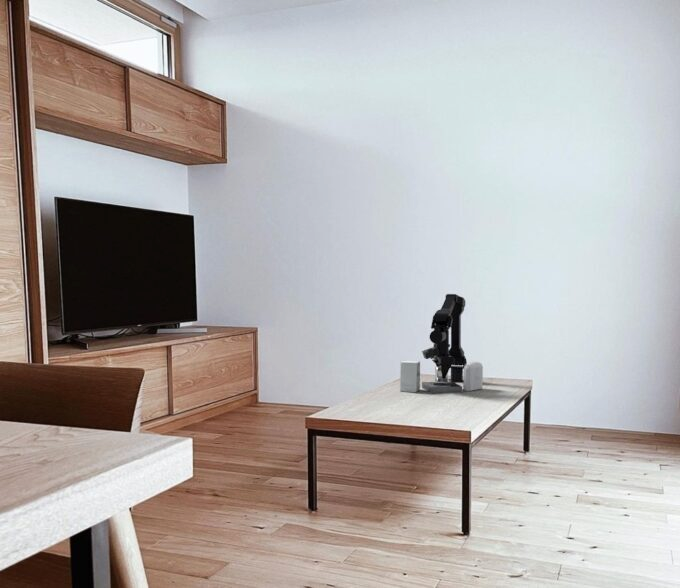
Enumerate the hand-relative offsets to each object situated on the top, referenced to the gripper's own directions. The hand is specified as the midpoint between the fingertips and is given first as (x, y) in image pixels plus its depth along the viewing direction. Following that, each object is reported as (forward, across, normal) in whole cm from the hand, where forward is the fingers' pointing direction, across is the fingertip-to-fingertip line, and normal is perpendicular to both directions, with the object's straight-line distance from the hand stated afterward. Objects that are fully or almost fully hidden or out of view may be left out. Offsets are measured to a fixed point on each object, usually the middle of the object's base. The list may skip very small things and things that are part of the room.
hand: (441, 377), depth 296 cm
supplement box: (+6, 0, -14) cm, 15 cm away
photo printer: (+6, 0, +14) cm, 15 cm away
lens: (+2, 0, 0) cm, 2 cm away
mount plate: (+6, 0, 0) cm, 6 cm away
